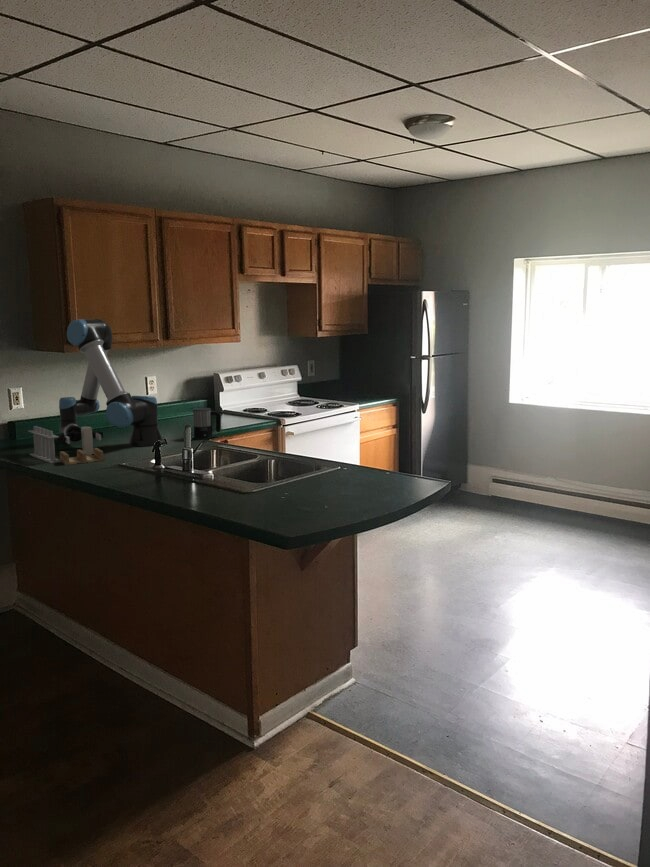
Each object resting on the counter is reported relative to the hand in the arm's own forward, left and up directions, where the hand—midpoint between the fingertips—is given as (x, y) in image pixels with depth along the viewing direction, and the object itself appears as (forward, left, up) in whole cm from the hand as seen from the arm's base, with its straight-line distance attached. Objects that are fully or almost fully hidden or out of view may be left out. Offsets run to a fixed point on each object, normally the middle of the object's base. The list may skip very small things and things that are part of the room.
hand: (84, 439), depth 319 cm
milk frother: (-62, -13, -7) cm, 63 cm away
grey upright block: (-1, +2, -7) cm, 7 cm away
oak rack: (+5, +16, -7) cm, 18 cm away
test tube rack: (+18, +1, -7) cm, 19 cm away
